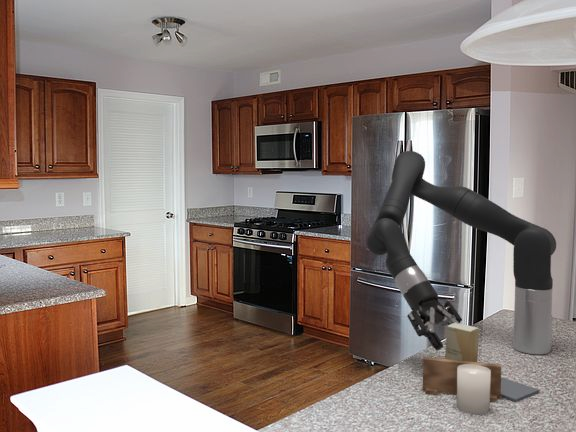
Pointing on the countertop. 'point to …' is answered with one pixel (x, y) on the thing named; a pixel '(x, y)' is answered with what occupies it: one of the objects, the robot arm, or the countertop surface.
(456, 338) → the skincare box
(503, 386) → the slate mat
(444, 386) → the walnut screen
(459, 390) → the white pillar candle
